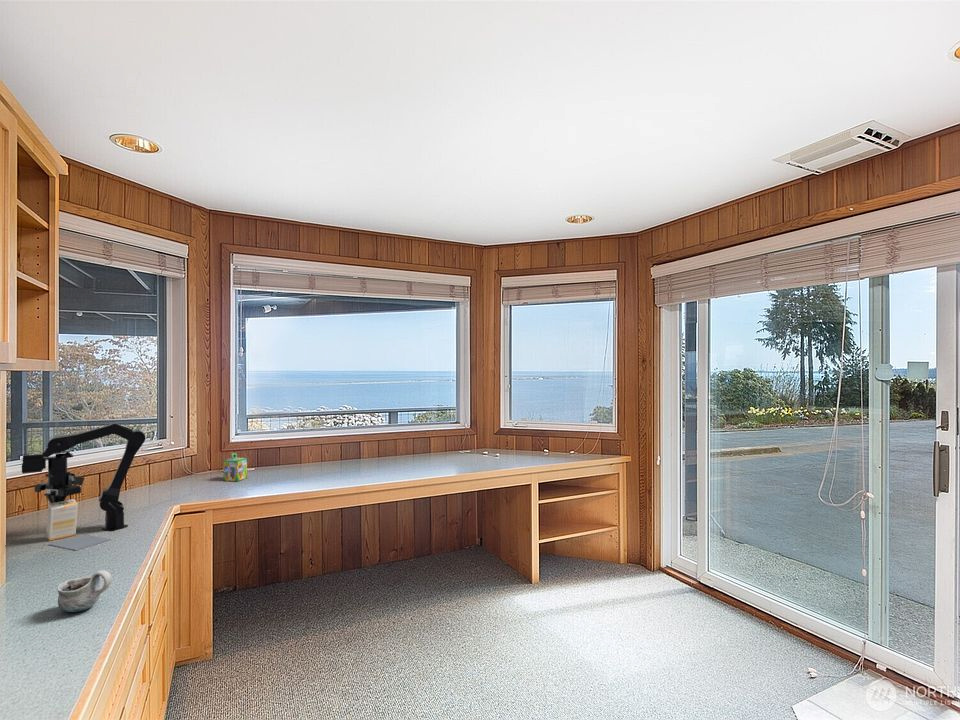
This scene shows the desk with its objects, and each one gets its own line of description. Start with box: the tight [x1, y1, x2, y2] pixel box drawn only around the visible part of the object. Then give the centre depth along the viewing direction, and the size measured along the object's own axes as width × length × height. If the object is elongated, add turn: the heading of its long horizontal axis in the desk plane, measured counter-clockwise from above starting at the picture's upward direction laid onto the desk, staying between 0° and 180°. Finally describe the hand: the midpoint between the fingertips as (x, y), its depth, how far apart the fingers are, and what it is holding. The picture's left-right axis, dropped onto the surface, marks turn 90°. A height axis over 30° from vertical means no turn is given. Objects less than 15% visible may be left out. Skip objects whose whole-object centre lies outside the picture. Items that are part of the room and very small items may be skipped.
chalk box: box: [222, 452, 248, 482], centre depth 299 cm, size 9×9×15 cm
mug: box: [56, 569, 112, 613], centre depth 145 cm, size 10×12×10 cm
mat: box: [48, 533, 112, 551], centre depth 198 cm, size 16×12×1 cm
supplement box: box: [45, 498, 79, 541], centre depth 202 cm, size 8×5×13 cm, turn 141°
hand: (58, 511), depth 204 cm, fingers closed
